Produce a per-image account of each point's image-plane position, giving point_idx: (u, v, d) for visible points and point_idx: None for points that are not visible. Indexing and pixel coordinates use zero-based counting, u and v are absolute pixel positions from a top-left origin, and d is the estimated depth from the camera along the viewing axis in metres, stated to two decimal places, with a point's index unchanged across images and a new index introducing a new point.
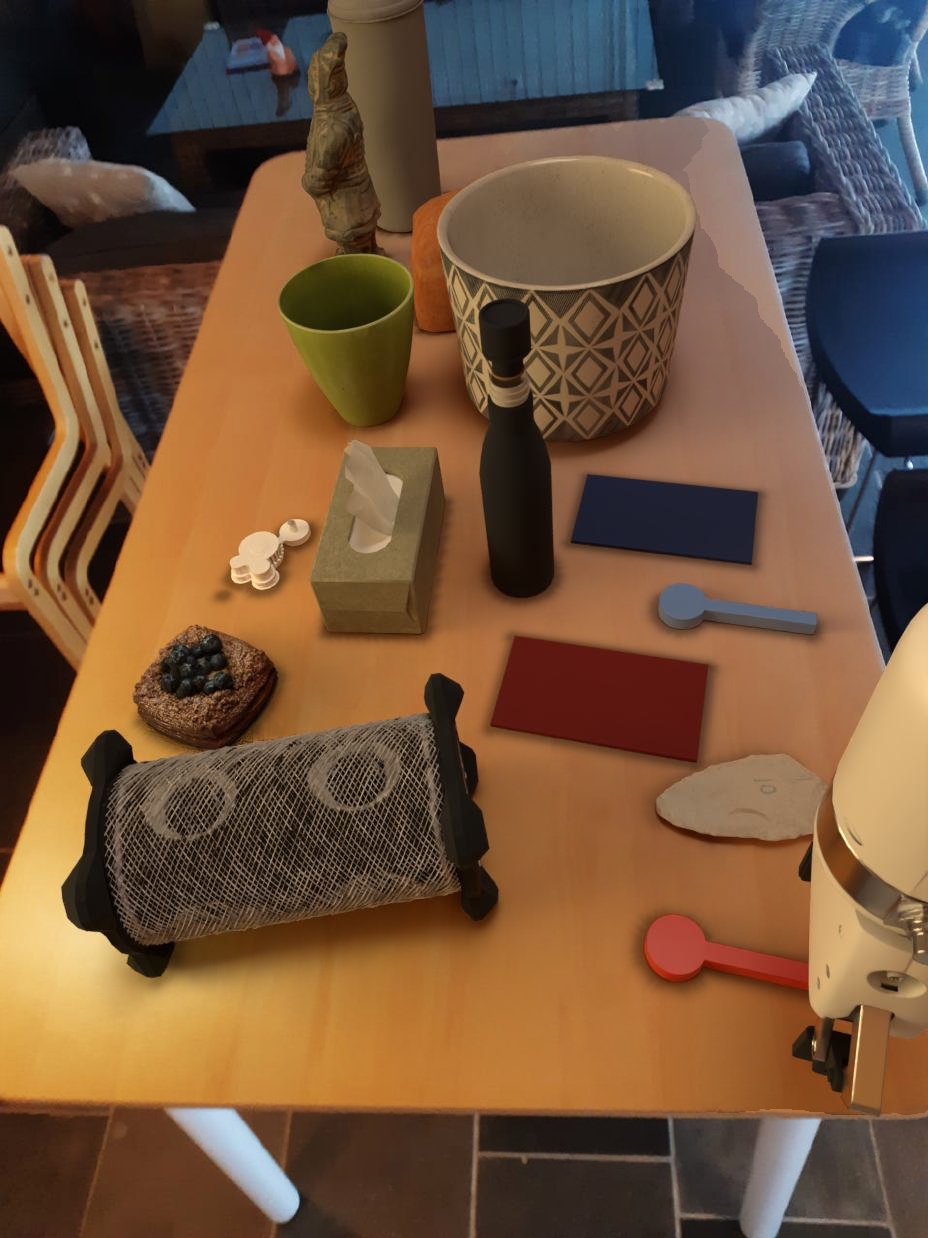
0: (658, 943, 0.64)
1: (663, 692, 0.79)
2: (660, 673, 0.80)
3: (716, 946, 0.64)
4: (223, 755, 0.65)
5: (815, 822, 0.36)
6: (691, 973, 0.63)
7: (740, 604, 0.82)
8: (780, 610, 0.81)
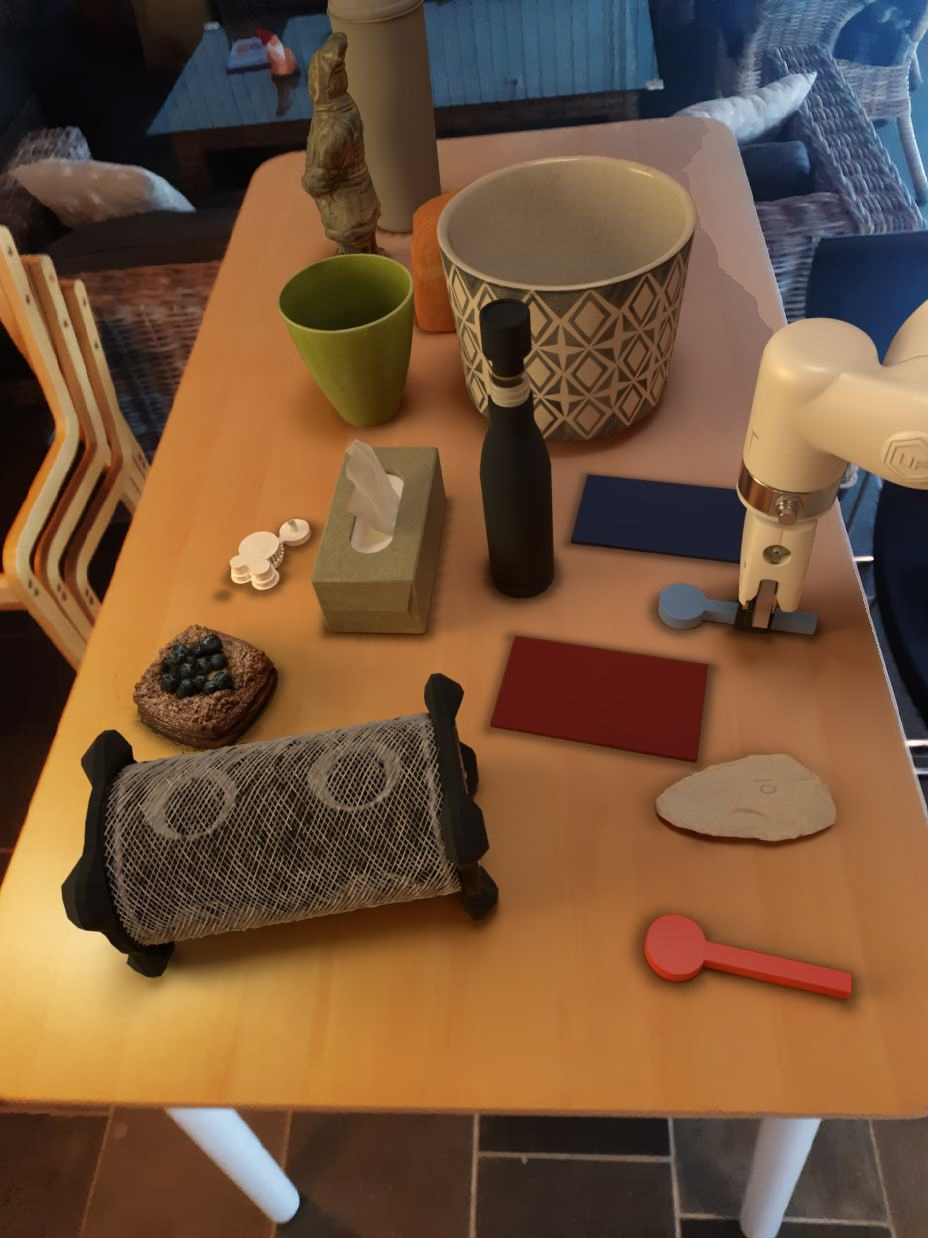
0: (658, 943, 0.64)
1: (663, 692, 0.79)
2: (660, 673, 0.80)
3: (716, 946, 0.64)
4: (223, 755, 0.65)
5: (737, 480, 0.70)
6: (691, 973, 0.63)
7: None
8: (780, 610, 0.81)
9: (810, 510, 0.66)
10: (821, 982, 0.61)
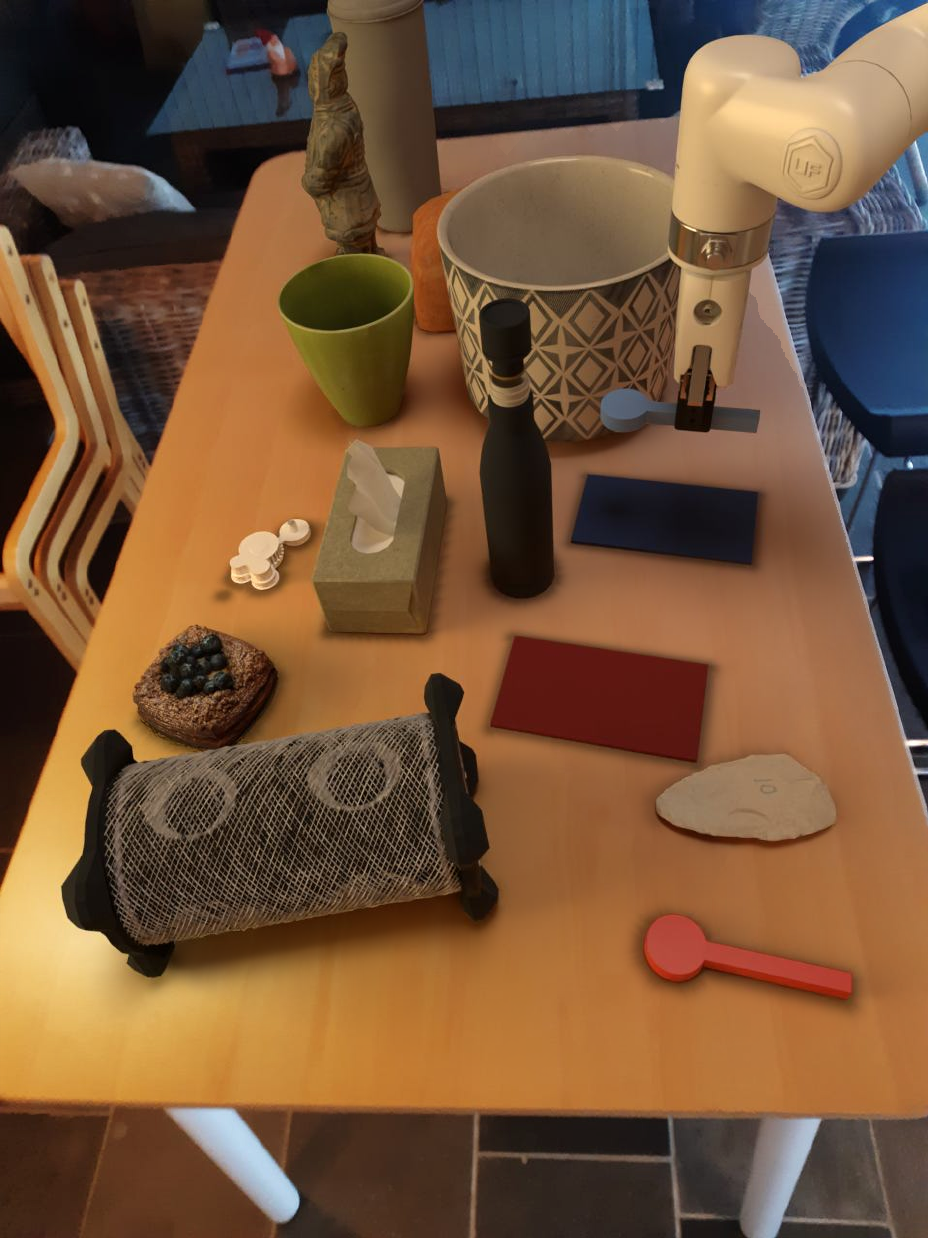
0: (658, 943, 0.64)
1: (663, 692, 0.79)
2: (660, 673, 0.80)
3: (716, 946, 0.64)
4: (223, 755, 0.65)
5: (668, 240, 0.68)
6: (691, 973, 0.63)
7: None
8: (723, 408, 0.80)
9: (739, 257, 0.64)
10: (821, 982, 0.61)
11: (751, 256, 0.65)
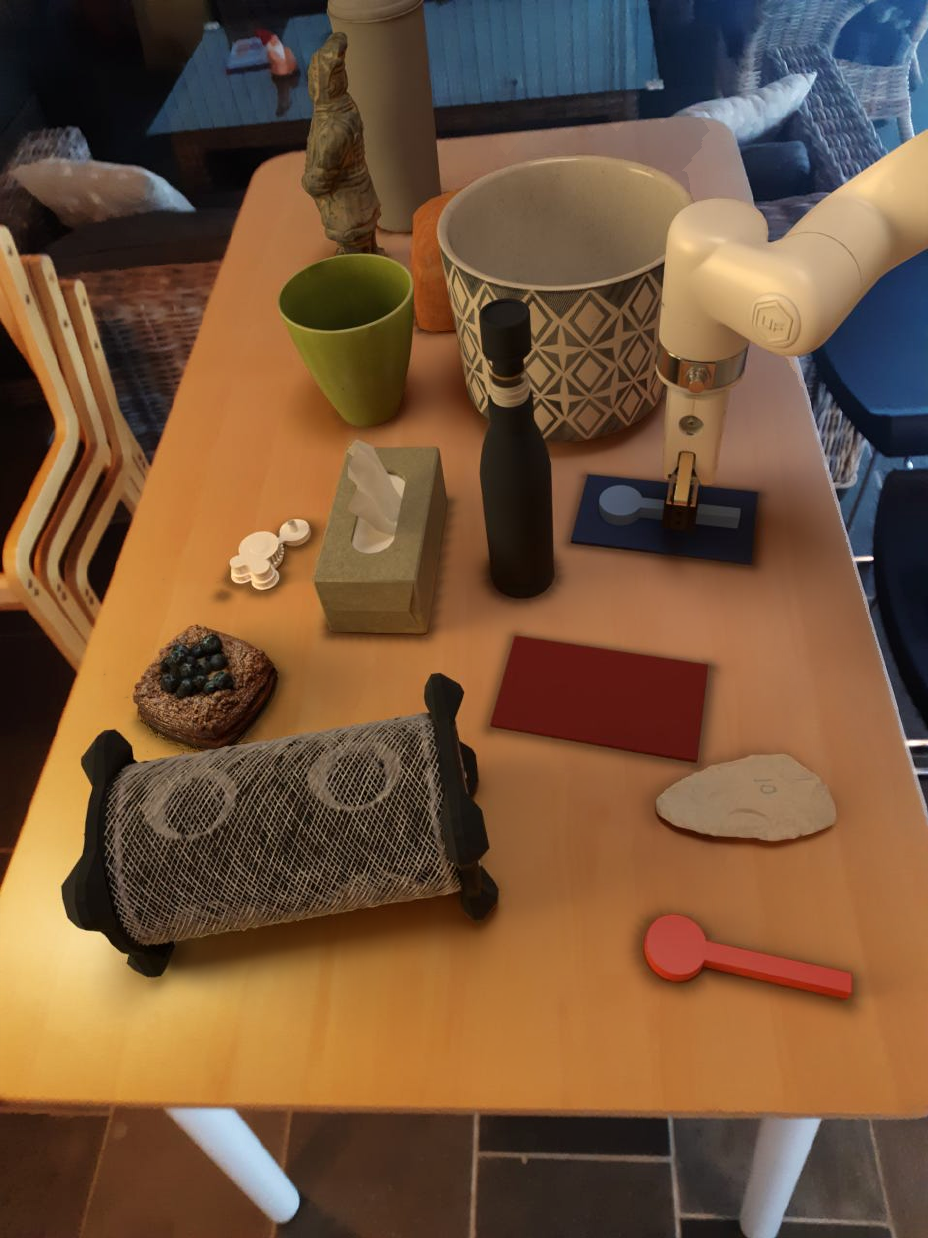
0: (658, 943, 0.64)
1: (663, 692, 0.79)
2: (660, 673, 0.80)
3: (716, 946, 0.64)
4: (223, 755, 0.65)
5: None
6: (691, 973, 0.63)
7: None
8: (707, 506, 0.90)
9: (718, 380, 0.73)
10: (821, 982, 0.61)
11: (728, 379, 0.74)
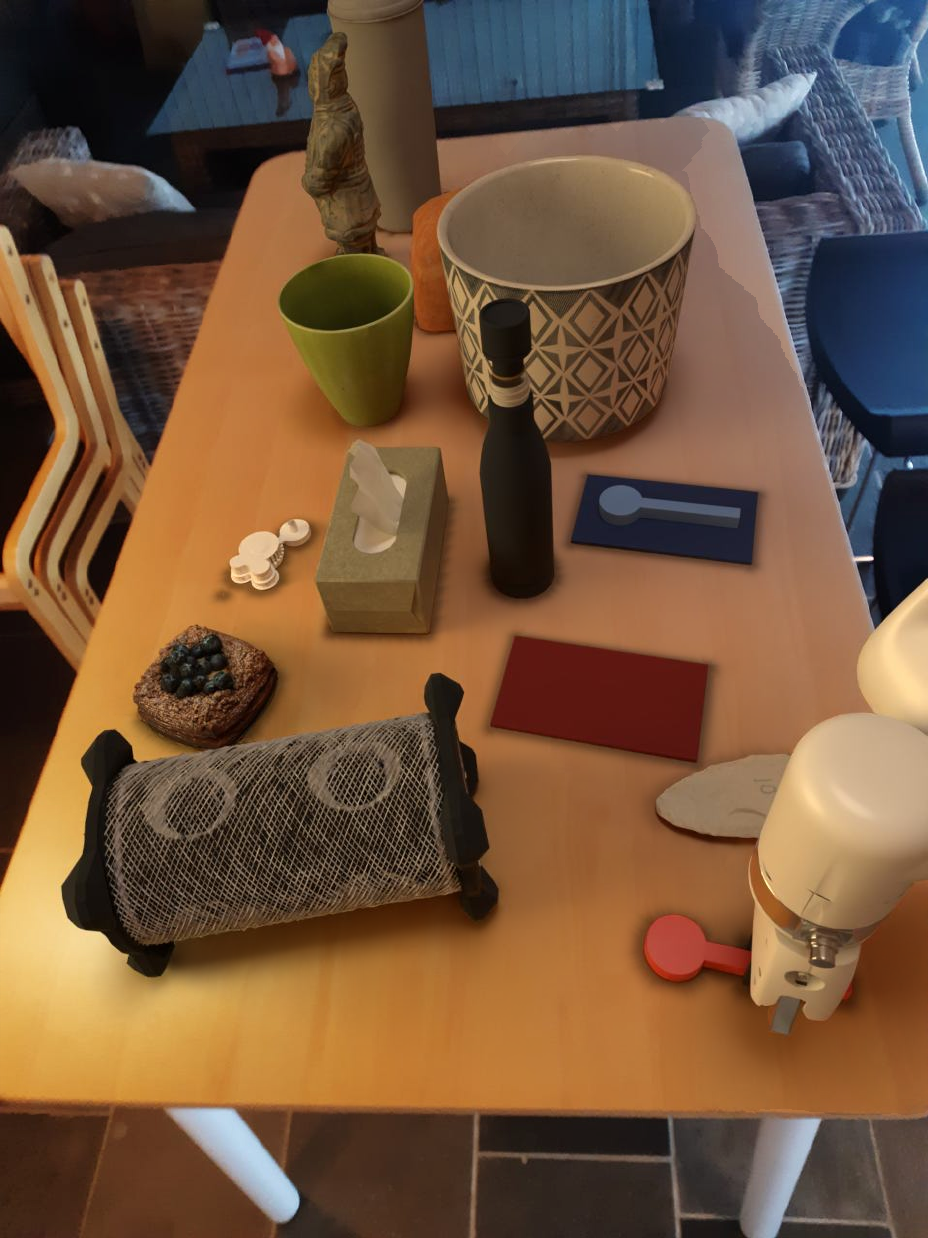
0: (658, 943, 0.64)
1: (663, 692, 0.79)
2: (660, 673, 0.80)
3: (716, 946, 0.64)
4: (223, 755, 0.65)
5: (749, 865, 0.51)
6: (691, 973, 0.63)
7: (672, 502, 0.90)
8: (707, 506, 0.90)
9: (853, 940, 0.47)
10: None
11: (868, 934, 0.47)
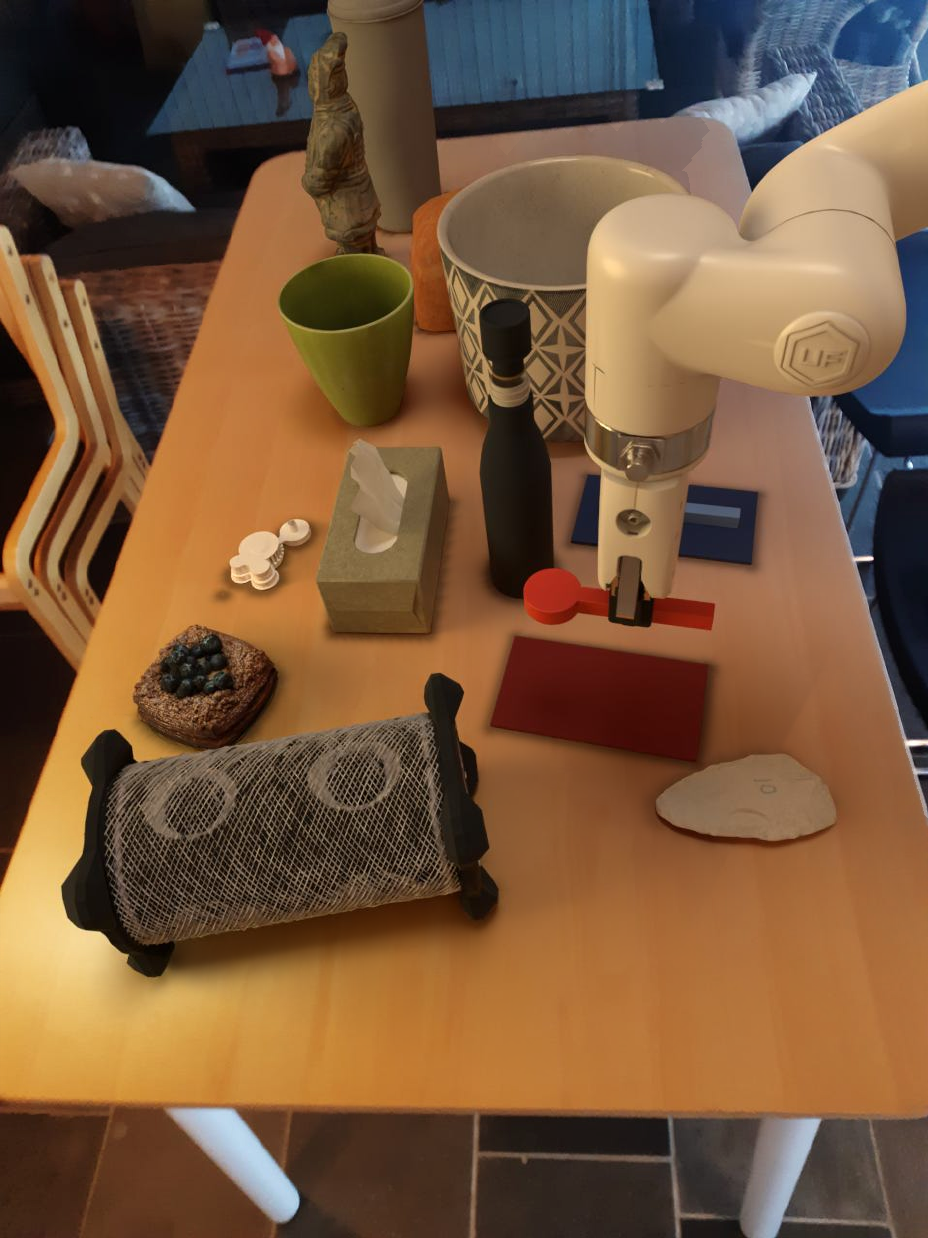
0: (535, 590, 0.67)
1: (663, 692, 0.79)
2: (660, 673, 0.80)
3: (589, 589, 0.67)
4: (223, 755, 0.65)
5: None
6: (564, 611, 0.66)
7: None
8: (707, 506, 0.90)
9: (670, 462, 0.50)
10: (685, 611, 0.64)
11: (686, 459, 0.50)
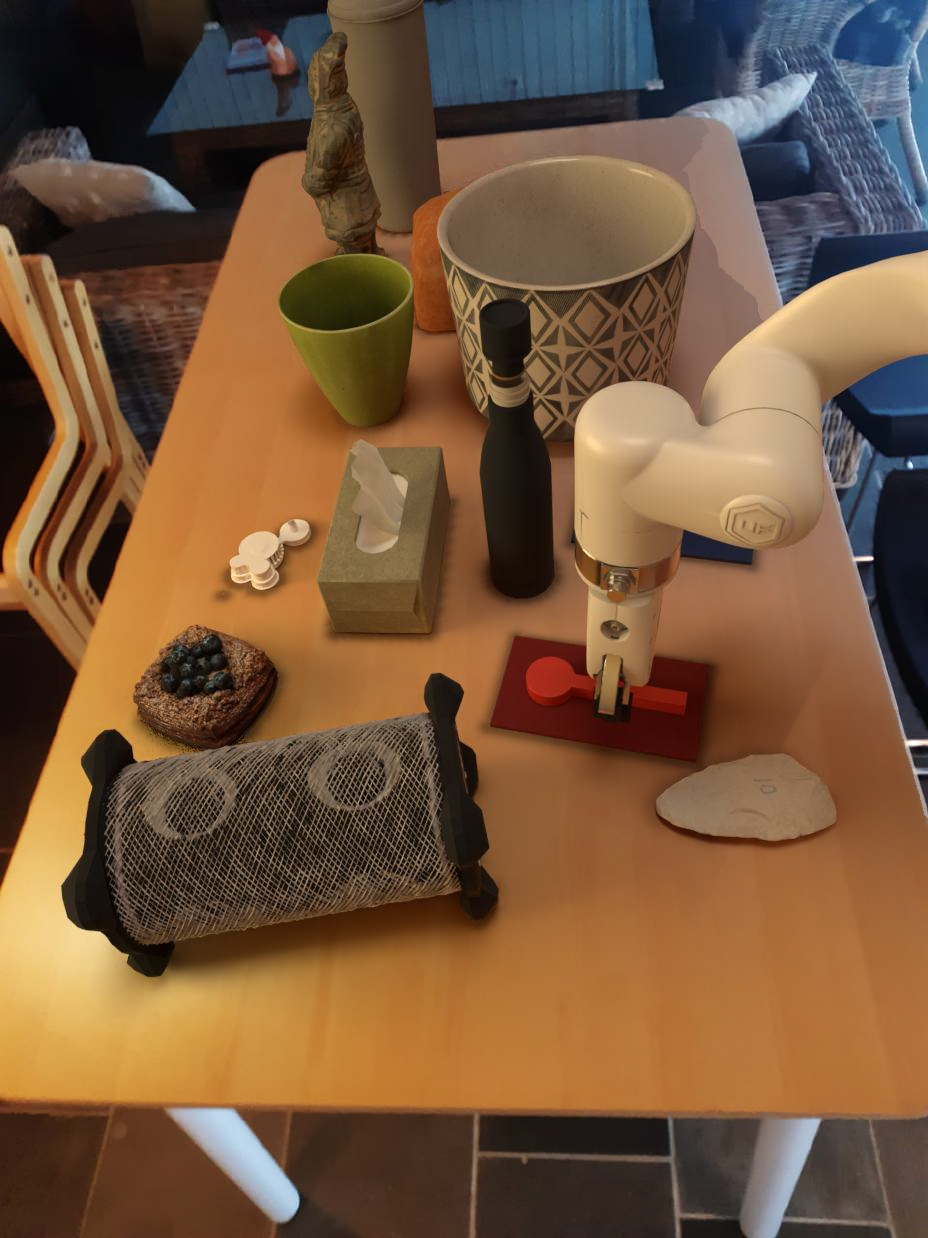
0: (535, 676, 0.79)
1: None
2: (660, 673, 0.80)
3: (582, 677, 0.78)
4: (223, 755, 0.65)
5: None
6: (560, 696, 0.78)
7: None
8: None
9: (644, 584, 0.61)
10: (662, 698, 0.76)
11: (657, 582, 0.61)
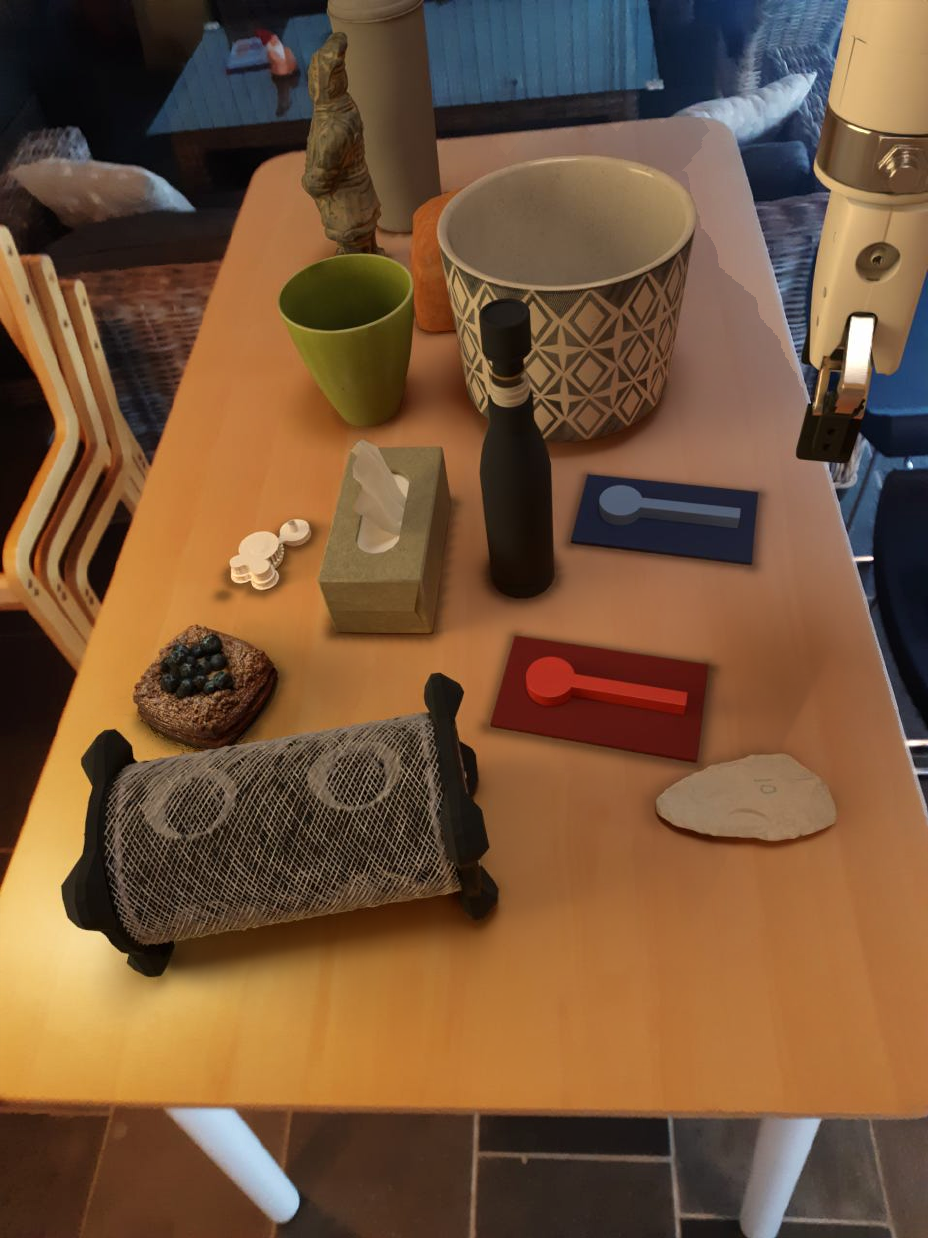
0: (535, 676, 0.79)
1: None
2: (660, 673, 0.80)
3: (582, 677, 0.78)
4: (223, 754, 0.65)
5: (815, 158, 0.46)
6: (560, 696, 0.78)
7: (672, 502, 0.90)
8: (707, 506, 0.90)
9: None
10: (662, 698, 0.76)
11: None
